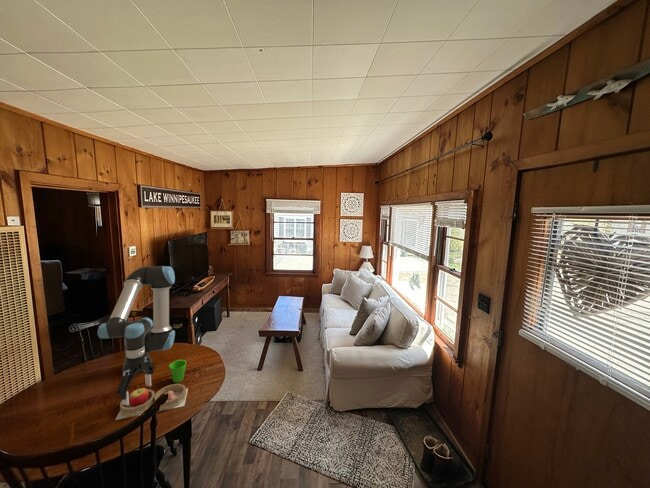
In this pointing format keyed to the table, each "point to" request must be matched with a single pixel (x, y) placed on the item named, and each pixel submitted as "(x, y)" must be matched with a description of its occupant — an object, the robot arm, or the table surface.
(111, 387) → the table surface
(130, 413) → the ring
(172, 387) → the ring
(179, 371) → the cup
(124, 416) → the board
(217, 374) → the table surface
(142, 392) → the apple
